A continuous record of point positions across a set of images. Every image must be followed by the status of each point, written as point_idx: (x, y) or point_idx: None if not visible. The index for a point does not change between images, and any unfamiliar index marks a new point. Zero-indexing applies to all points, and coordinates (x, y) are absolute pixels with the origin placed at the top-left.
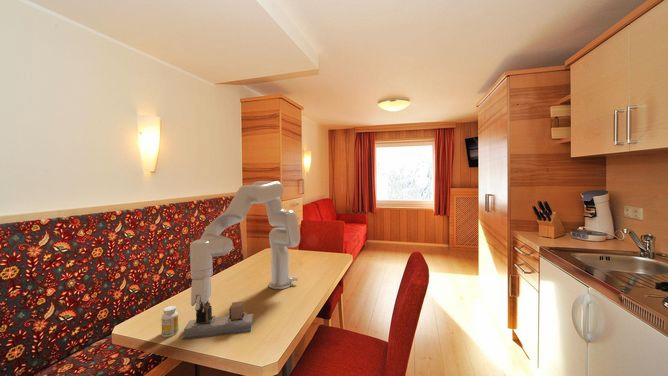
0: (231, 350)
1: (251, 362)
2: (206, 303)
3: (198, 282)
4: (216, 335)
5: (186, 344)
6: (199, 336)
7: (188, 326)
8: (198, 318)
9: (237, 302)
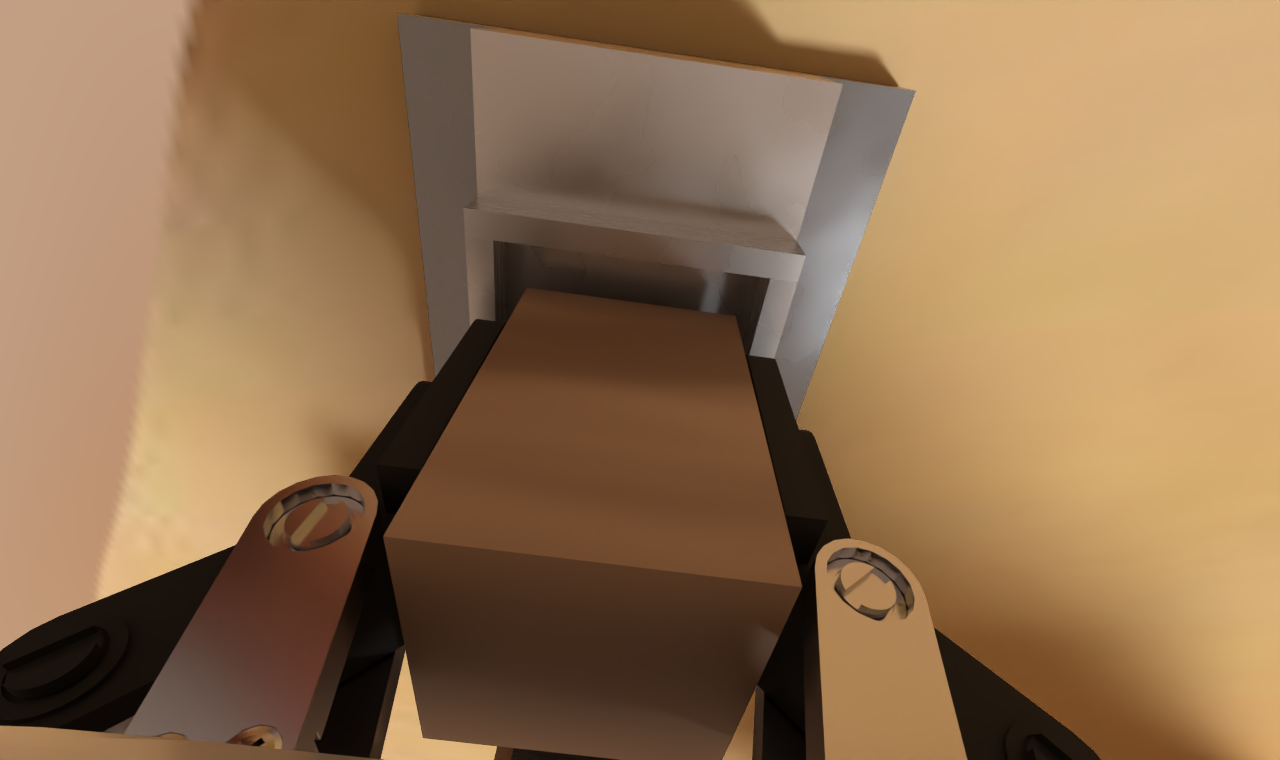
0: (206, 556)
1: None
2: (707, 724)
3: None
4: None
5: (279, 127)
6: (432, 290)
7: (556, 116)
8: (402, 416)
9: None
